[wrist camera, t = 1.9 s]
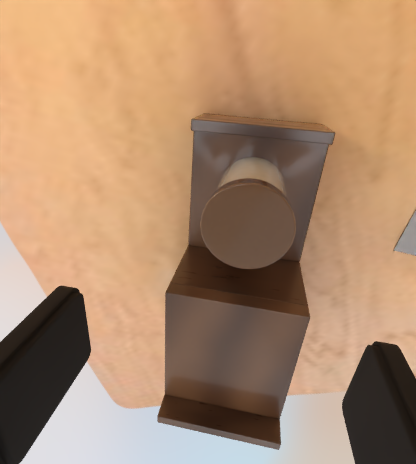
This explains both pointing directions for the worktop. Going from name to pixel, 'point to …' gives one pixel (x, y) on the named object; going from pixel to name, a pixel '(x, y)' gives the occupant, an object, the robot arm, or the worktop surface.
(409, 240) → the stacked layers on plate
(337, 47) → the worktop surface
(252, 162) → the spice jar
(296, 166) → the step rack
